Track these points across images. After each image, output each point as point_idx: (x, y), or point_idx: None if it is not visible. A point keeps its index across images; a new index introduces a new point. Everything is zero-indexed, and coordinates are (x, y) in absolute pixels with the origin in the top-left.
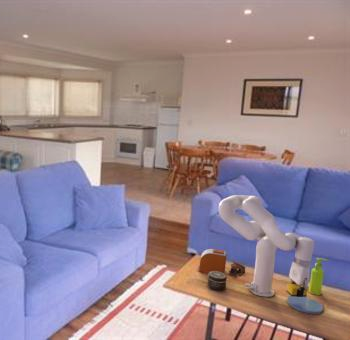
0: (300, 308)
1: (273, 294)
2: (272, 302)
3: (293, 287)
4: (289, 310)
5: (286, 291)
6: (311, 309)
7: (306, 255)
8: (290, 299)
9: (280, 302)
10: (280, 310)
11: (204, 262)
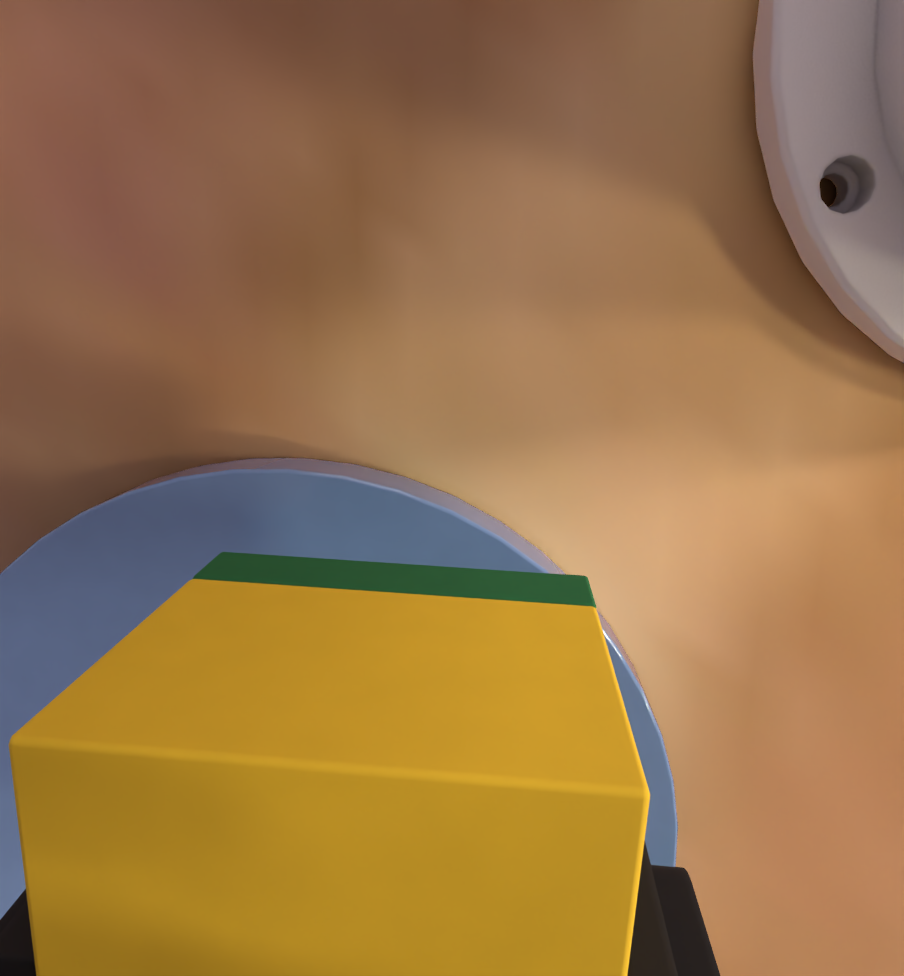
0: (23, 579)
1: (832, 286)
2: (444, 26)
3: (140, 854)
4: (45, 291)
5: (569, 578)
6: (10, 810)
7: None
8: None
9: (441, 285)
10: (17, 18)
11: None
